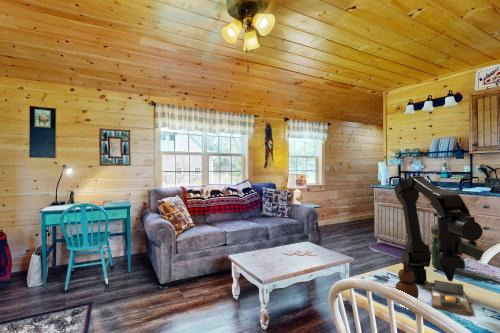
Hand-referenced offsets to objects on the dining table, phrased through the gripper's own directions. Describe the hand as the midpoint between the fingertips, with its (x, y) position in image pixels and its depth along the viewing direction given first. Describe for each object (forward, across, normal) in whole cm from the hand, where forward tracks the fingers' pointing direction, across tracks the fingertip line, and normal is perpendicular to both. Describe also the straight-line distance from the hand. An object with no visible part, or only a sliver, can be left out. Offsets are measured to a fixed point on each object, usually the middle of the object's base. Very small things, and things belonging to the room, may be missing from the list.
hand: (450, 280), depth 87 cm
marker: (+7, +9, 0) cm, 12 cm away
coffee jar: (+9, +40, 0) cm, 41 cm away
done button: (+7, 0, 0) cm, 7 cm away
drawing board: (+9, +5, 0) cm, 10 cm away
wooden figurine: (+9, -4, +12) cm, 15 cm away
